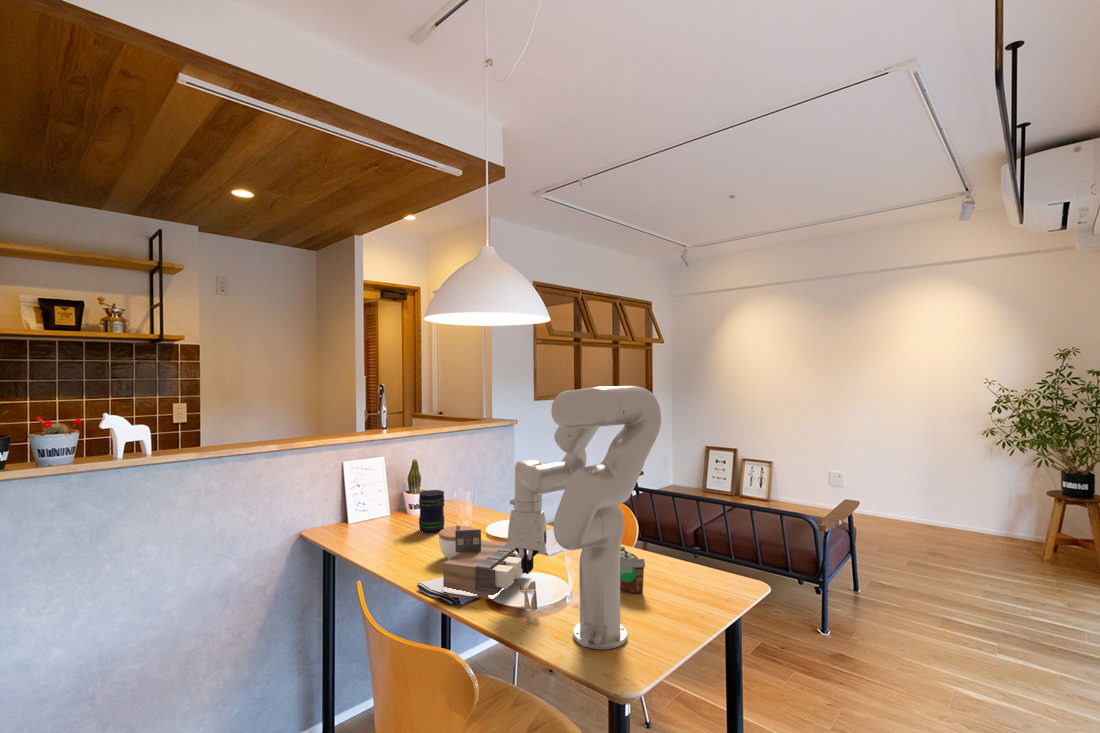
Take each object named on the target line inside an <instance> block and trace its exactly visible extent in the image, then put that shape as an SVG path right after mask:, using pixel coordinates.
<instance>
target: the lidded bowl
mask: <svg viewBox="0 0 1100 733" xmlns="http://www.w3.org/2000/svg"><path fill="white" fill-rule="evenodd" d="M476 529H477V528H476V527H472V526H467V525H460V524H456V525H455V526H448V527H446V528H445V527H444V529H442V530H441V531H440V532H439V533H438V536H439V547H440V548H439V549H440V551H441V554H442V555H443V556H444V557H445V558H446V561H447V560H449V559H450V558H452V557H454V556H455V555H457V554H458V553H460V552H456V537H455V531H456V530H476Z"/></svg>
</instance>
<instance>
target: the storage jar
mask: <svg viewBox="0 0 1100 733" xmlns="http://www.w3.org/2000/svg"><path fill="white" fill-rule="evenodd" d="M418 495H419V498H418V507H419V518H418V525H419V530H420V531H421V532H423V533H435V534H438V533H437V532H440V531H441V530H442V529H445V515H444V512H445V511H444V507H445V491H444V490H440V489H430V490H429V489H428V490H424V491H421V492H419V494H418ZM423 533H422V534H423Z"/></svg>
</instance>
